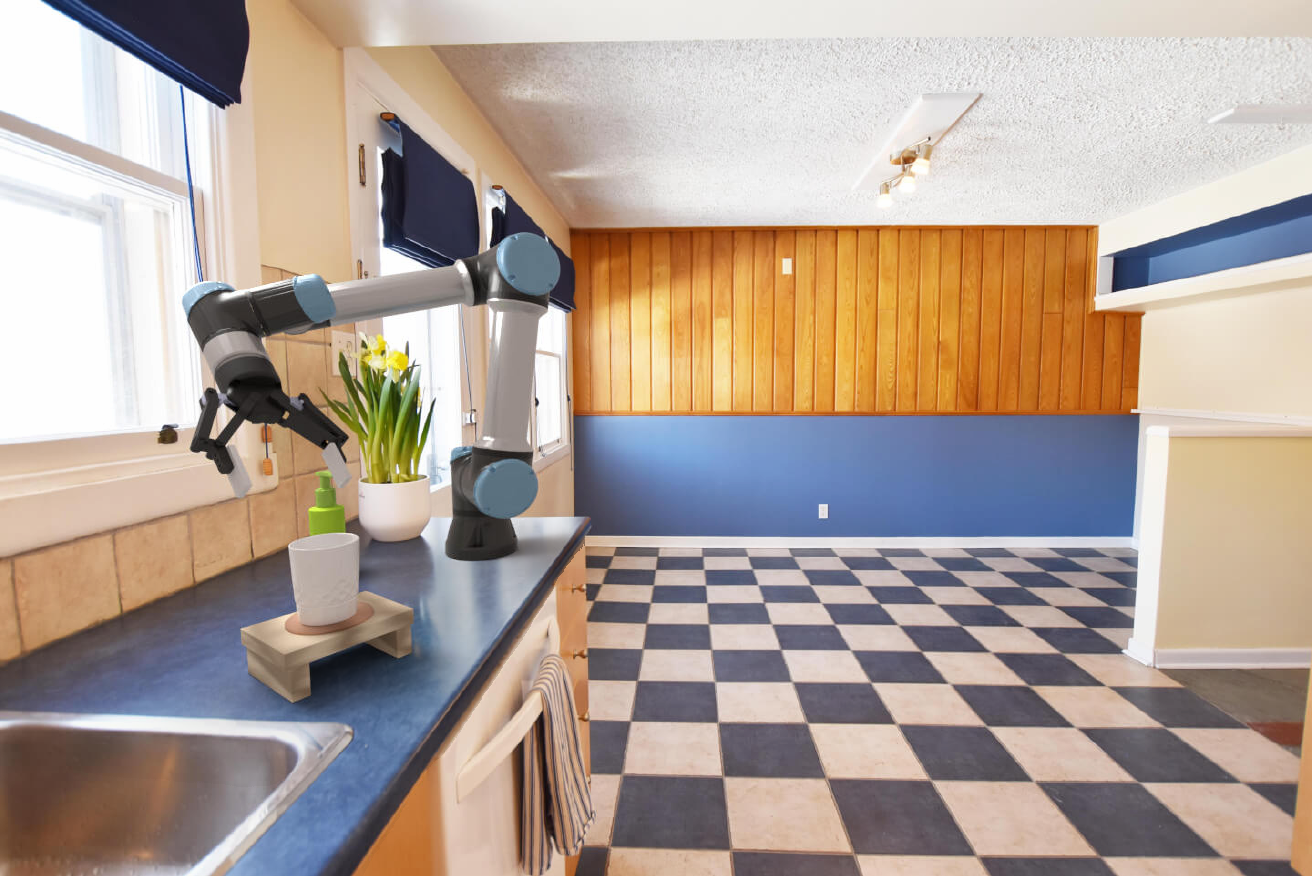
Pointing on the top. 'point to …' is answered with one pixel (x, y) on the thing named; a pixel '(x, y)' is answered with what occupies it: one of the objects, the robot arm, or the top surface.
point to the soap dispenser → (326, 509)
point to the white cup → (325, 577)
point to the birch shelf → (322, 642)
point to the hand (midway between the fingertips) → (299, 487)
